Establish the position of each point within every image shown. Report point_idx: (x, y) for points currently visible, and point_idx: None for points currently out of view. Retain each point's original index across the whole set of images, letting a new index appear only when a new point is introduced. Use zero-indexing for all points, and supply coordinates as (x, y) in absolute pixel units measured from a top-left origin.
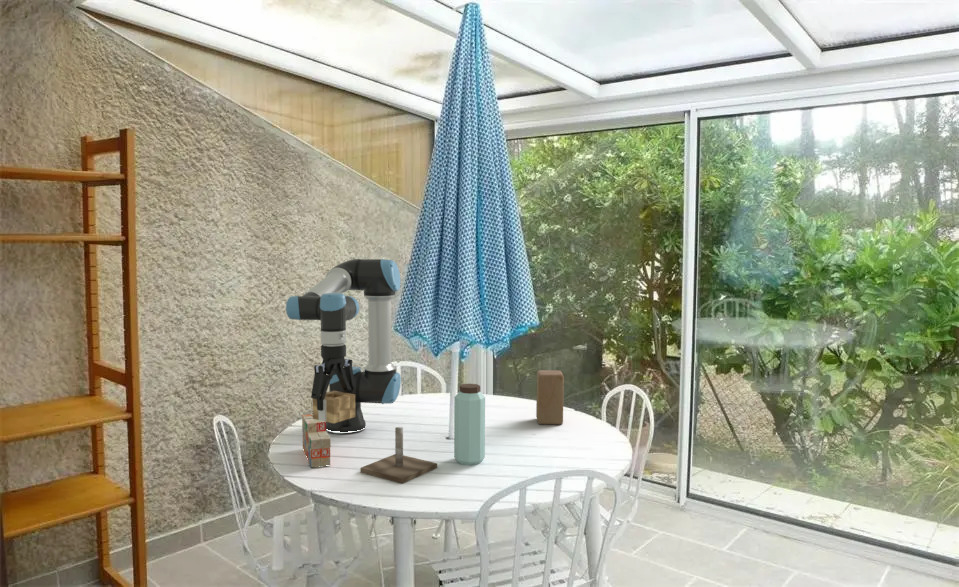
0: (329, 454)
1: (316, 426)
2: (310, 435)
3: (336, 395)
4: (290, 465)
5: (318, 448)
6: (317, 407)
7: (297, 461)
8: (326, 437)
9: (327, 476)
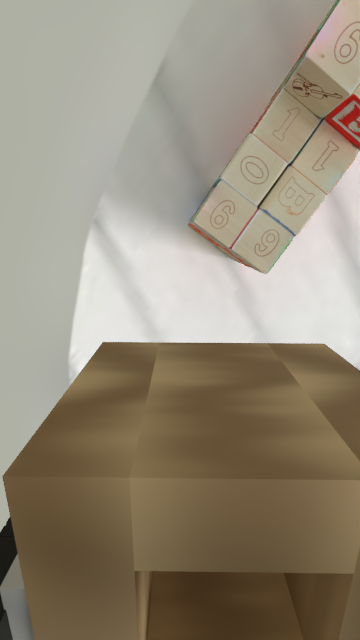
0: (245, 264)
1: (337, 106)
2: (249, 150)
3: (331, 574)
4: (168, 132)
5: (215, 241)
6: (10, 522)
7: (214, 117)
8: (265, 249)
9: (165, 322)
